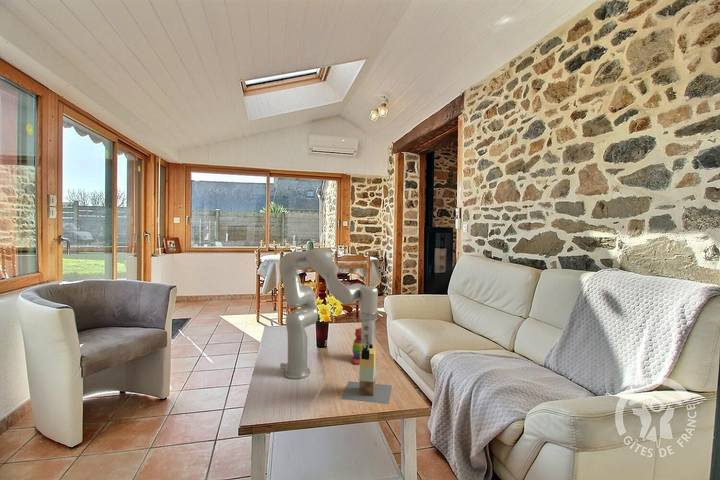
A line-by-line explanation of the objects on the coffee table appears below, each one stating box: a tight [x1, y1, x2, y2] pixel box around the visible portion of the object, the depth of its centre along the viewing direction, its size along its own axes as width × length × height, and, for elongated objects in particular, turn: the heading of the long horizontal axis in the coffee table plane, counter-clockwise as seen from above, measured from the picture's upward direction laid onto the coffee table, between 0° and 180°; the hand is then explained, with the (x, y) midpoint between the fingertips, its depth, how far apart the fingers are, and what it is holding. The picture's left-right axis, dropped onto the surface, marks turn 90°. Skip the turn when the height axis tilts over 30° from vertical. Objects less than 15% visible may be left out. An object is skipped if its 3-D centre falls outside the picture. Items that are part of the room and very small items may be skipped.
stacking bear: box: [351, 327, 363, 366], centre depth 182 cm, size 11×10×18 cm
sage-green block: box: [358, 365, 376, 382], centre depth 145 cm, size 6×6×6 cm
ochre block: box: [359, 348, 377, 368], centre depth 145 cm, size 6×6×6 cm
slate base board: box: [340, 380, 393, 405], centre depth 145 cm, size 20×16×2 cm
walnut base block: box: [359, 377, 376, 396], centre depth 145 cm, size 6×6×6 cm
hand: (367, 354), depth 145 cm, fingers open, 9 cm apart
